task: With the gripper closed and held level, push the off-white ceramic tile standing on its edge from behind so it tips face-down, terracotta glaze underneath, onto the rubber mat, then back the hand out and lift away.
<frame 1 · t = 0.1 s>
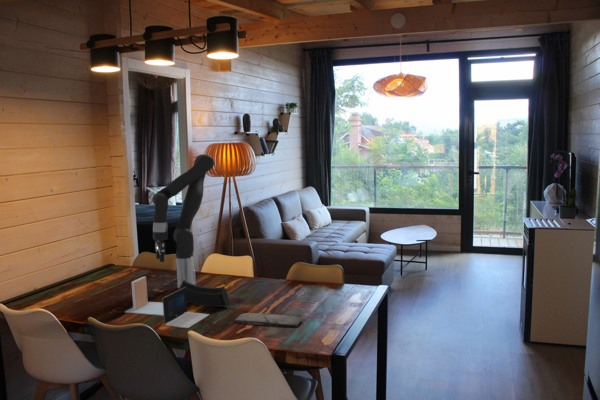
hand: (160, 260, 285), 17 cm above the table, tool pointing down, fingers open, 8 cm apart
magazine: (203, 305, 263), on the table
tile: (140, 306, 261), resting on mat
mat: (153, 308, 259), on the table
stone slab: (269, 323, 236), on the table
laptop: (187, 321, 241), on the table
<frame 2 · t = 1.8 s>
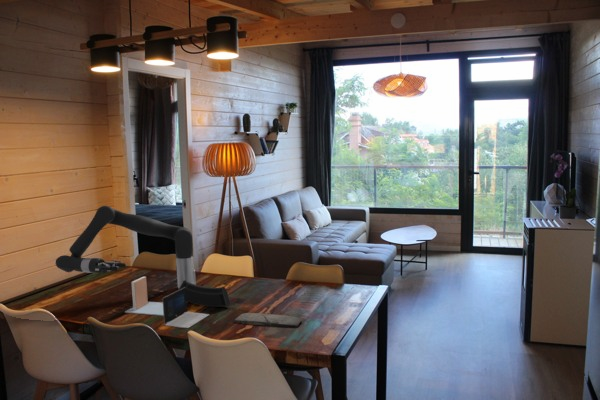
hand: (121, 267, 261), 20 cm above the table, tool horizontal, fingers open, 5 cm apart
nothing on the table moved.
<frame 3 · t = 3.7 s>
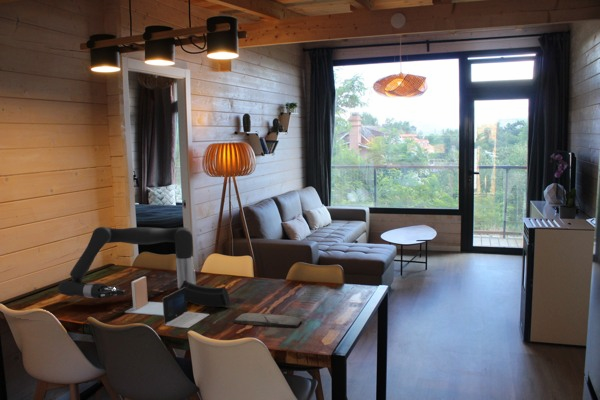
hand: (124, 292, 263), 7 cm above the table, tool horizontal, fingers closed
nothing on the table moved.
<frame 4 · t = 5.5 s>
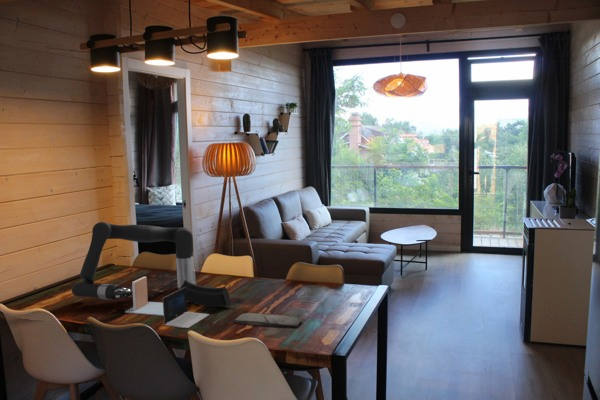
hand: (138, 293, 260), 7 cm above the table, tool horizontal, fingers closed
tile: (140, 306, 261), resting on mat, touching gripper
everything else where it was.
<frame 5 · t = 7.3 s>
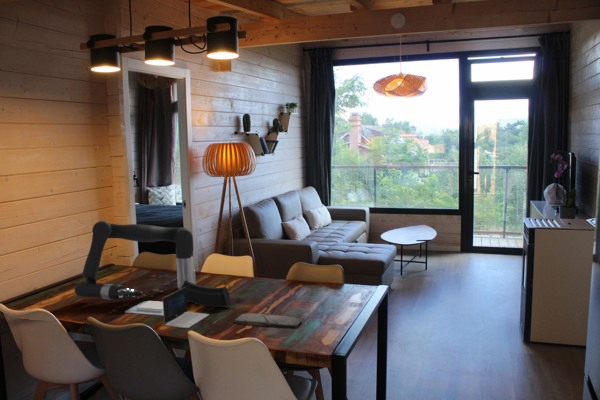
hand: (142, 294, 259), 7 cm above the table, tool horizontal, fingers closed
tile: (142, 305, 260), point 1 cm above the table, tilted 90°, touching mat
everything else where it was.
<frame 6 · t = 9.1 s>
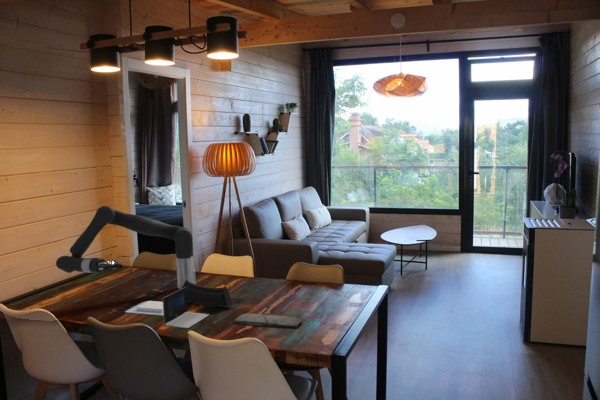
hand: (122, 266, 261), 21 cm above the table, tool horizontal, fingers closed
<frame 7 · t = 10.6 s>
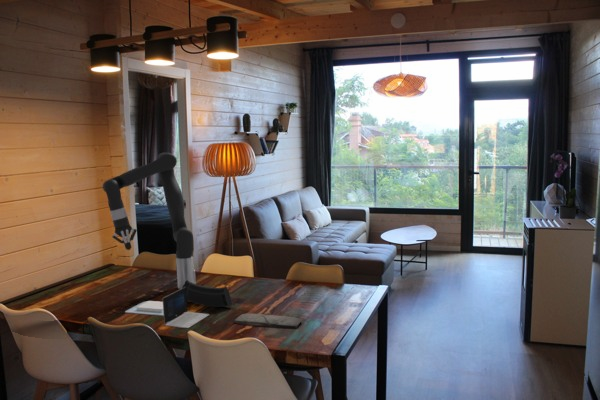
hand: (129, 249, 273), 26 cm above the table, tool pointing down, fingers closed
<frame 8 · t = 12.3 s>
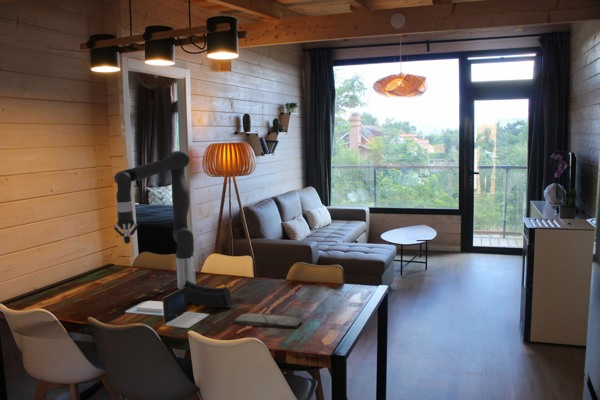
hand: (127, 243, 274), 29 cm above the table, tool pointing down, fingers closed
at the end: tile tilted 90°; tile inside the target area on the mat (0.3 cm from its centre), point 1.3 cm above the mat's base; tile touching mat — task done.
